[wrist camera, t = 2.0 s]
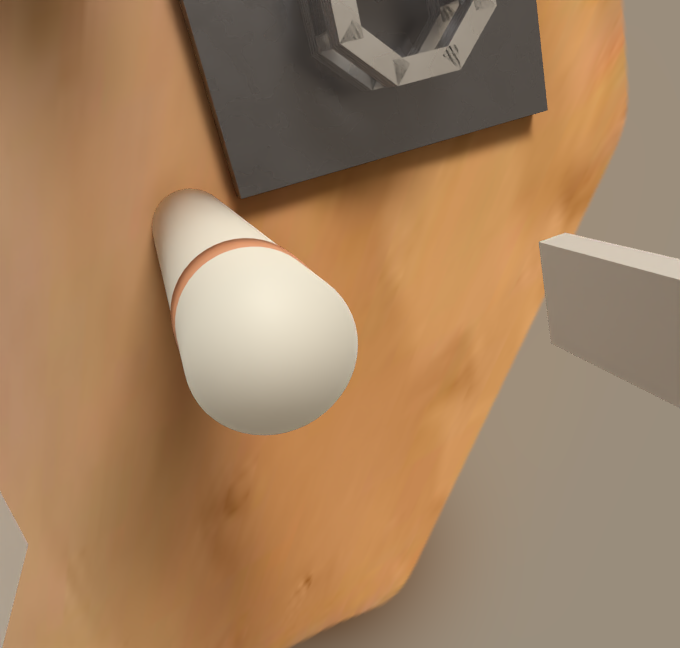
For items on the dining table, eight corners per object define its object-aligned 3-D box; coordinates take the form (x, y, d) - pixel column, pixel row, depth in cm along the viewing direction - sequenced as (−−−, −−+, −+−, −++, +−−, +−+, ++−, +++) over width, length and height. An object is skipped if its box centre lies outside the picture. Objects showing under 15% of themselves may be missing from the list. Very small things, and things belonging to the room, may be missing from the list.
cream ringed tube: (166, 276, 36) (214, 462, 16) (139, 200, 34) (154, 299, 14) (240, 253, 37) (375, 400, 17) (218, 178, 35) (337, 242, 15)
